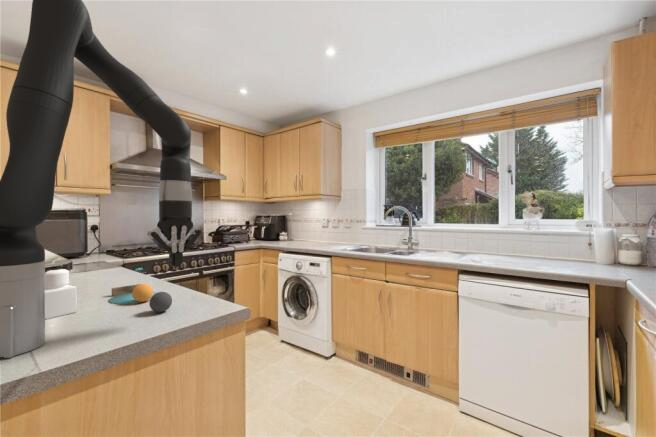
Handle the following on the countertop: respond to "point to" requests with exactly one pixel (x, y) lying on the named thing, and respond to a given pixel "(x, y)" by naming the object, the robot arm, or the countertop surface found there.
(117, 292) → the walnut stopper strip
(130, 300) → the teal mark
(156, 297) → the black ball
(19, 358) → the countertop surface
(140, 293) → the orange ball
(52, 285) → the medicine bottle
